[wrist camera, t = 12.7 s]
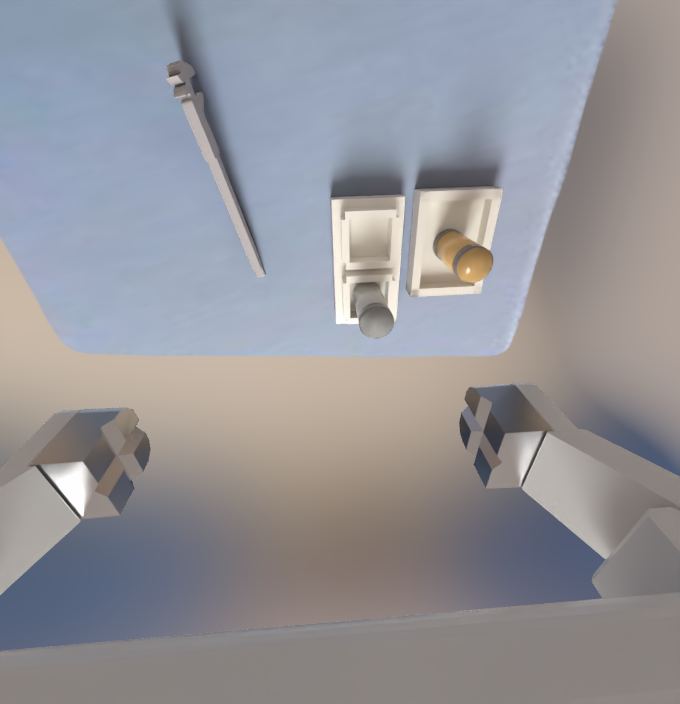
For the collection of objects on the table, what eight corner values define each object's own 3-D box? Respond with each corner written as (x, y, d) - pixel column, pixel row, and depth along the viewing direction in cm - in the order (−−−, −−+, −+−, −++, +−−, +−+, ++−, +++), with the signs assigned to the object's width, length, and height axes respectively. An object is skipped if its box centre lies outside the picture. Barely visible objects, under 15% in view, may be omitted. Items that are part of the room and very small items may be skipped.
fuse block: (330, 197, 37) (335, 213, 28) (401, 194, 37) (426, 209, 28) (335, 316, 45) (340, 357, 36) (393, 313, 45) (410, 352, 37)
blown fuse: (434, 229, 38) (459, 247, 32) (465, 228, 39) (497, 246, 32) (430, 260, 40) (453, 283, 34) (460, 259, 41) (488, 282, 34)
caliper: (183, 70, 30) (155, 55, 25) (194, 67, 30) (168, 51, 25) (258, 276, 41) (250, 296, 36) (266, 274, 41) (259, 294, 36)
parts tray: (414, 188, 37) (420, 191, 34) (492, 185, 37) (503, 188, 35) (406, 289, 43) (410, 296, 41) (472, 285, 43) (480, 293, 41)
